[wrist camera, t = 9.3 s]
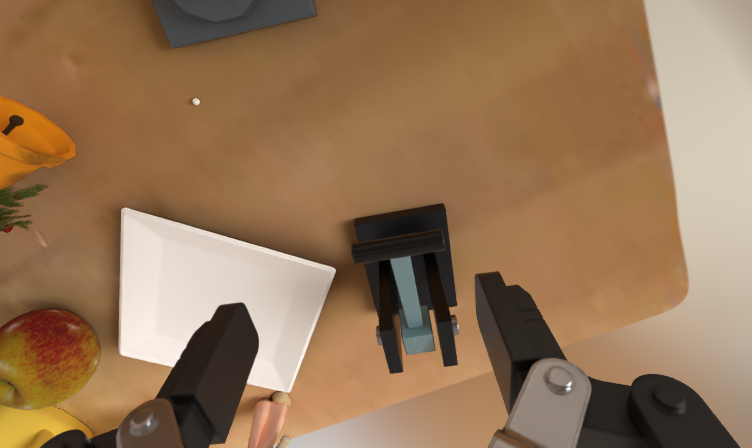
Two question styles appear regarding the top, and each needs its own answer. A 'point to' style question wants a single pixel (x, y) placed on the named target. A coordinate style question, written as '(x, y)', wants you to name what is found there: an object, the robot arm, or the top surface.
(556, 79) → the top surface
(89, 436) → the teapot
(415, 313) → the switch lever
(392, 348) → the switch bracket
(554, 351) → the robot arm
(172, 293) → the plate
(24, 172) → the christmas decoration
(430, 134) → the top surface
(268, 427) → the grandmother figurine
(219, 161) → the top surface
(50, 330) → the fruit
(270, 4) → the control block
